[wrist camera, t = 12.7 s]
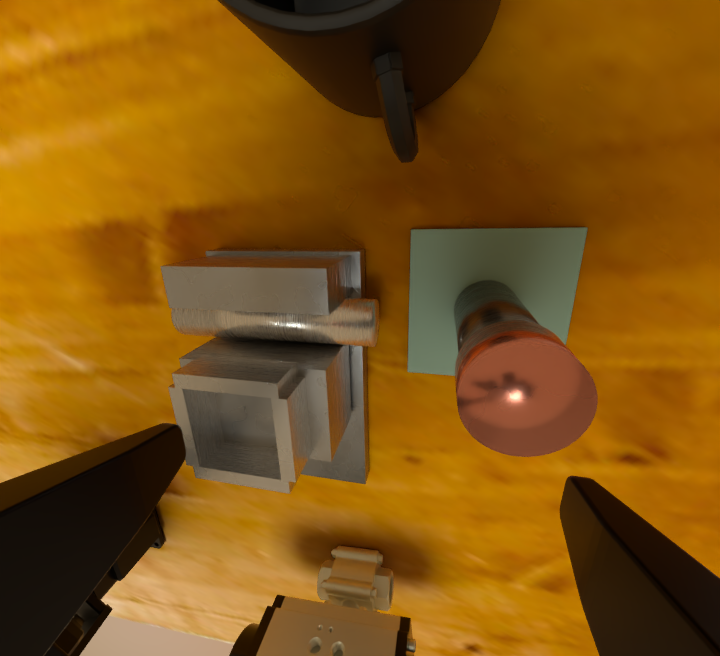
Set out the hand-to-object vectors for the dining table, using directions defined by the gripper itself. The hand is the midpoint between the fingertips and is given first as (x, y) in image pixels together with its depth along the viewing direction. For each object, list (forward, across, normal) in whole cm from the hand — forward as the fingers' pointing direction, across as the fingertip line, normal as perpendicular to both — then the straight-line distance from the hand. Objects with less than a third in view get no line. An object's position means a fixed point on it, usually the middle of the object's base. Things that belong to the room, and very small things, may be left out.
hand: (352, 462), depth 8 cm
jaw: (+11, +7, +4) cm, 13 cm away
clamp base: (+12, +6, +4) cm, 15 cm away
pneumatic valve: (+13, +3, +20) cm, 24 cm away
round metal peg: (+12, -4, -1) cm, 13 cm away
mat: (+12, -4, -1) cm, 13 cm away
